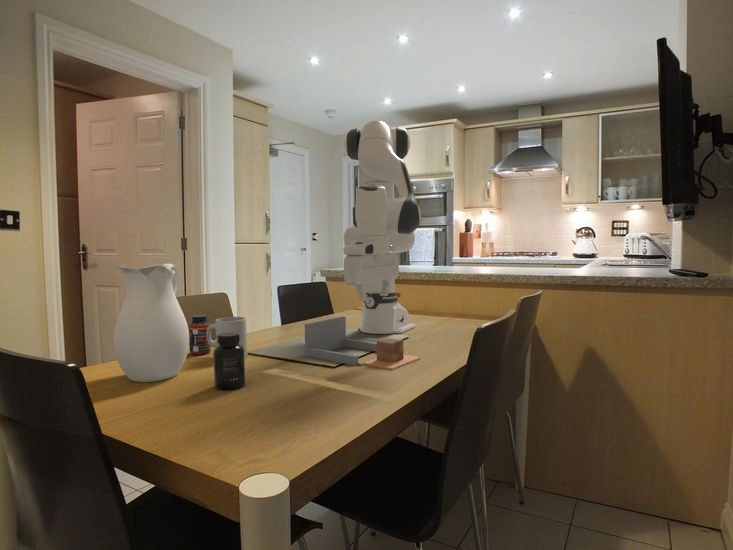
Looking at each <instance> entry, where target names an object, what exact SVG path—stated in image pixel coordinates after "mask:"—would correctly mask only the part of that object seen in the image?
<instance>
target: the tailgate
mask: <svg viewBox="0 0 733 550" xmlns="http://www.w3.org/2000/svg"><path fill="white" fill-rule="evenodd" d="M403 356H404V359H402V360H399V361H396V362H393V363H391V362H385V361H380V360H377V357H376V358H373V359H370V360H367V361H365V362H362V364H363V366H368V367H373V368H378V369H384V370H390V371H394V370H397V369H399V368H401V367H404V366H407V365H410V364H412V363H414V362H415V363H416V362H417V361H420V360H421V357H419V356H414V355H408V354H403Z"/></svg>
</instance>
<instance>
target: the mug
mask: <svg viewBox="0 0 733 550" xmlns="http://www.w3.org/2000/svg"><path fill="white" fill-rule="evenodd" d="M214 322H215V323H211V324H210V325H209V326H208V329H207V341H208V344H209V345H210V346H211V347H212V348H216V347H217V346H219V344H218V343H217V341H218V338H217V336H218V335H219V334H222V333H239V335H240V342H239V344H240V345H242V346H243V347H244V350H245V358H247V356H248V344H247V343H248V342H247V341H248V339H247V318H246V317H243V316H228V317H227V316H225V317H218V318H216V319H215V321H214ZM212 330H215V341H213V339H212Z"/></svg>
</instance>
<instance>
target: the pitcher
mask: <svg viewBox="0 0 733 550" xmlns="http://www.w3.org/2000/svg"><path fill="white" fill-rule="evenodd" d="M117 270H118V271H119V272H120V273H121V274H122V276H123V277H124V280H125V282H126V292H125V296H124V301H123V303H122V306H121V309H120V312H119V314H118V317H117V320H116V324H115V328H114V334H113V335H114V336H113V346H114V347H113V348H114V349H113V350H114V353H115V357H116V360H117V363H118V365H119V367H120V369H121V370H122V371H123V373H124V374H125V376H126V377H127V378H128V379H129V380H130V381H131V382H135V383H137V382H138V383H152V382H160V381H164V380H168V379H170V378H171V379H172V378H173V377H175V376H177V375H178V373H180V372H181V369H182V367H183V366H184V363H185V361H186V359H187V356H188V352H189V349H190V340H189V326H188V323H187V320H186V317H185V314H184V312H183V309H182V308H181V305H180V303H179V300H178V299H177V296H176V293H177V290H178V289H177V288H178V278H179V277H178V270H177V268H176V266H175V265H174V264H172V263H164V264H155V265H154V264H153V265H149V266H145V267H136V268H135V267H127V266H122V265H118V266H117Z"/></svg>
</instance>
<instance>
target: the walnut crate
mask: <svg viewBox="0 0 733 550" xmlns="http://www.w3.org/2000/svg"><path fill="white" fill-rule="evenodd" d="M376 343H377V352H376V358H377V360H380V361H385V362H391V363H393V362H396V361H399V360H402V359H404V356H403V355H404V339H399V338H394V337H386V338H382V339H378V340H376Z"/></svg>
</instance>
